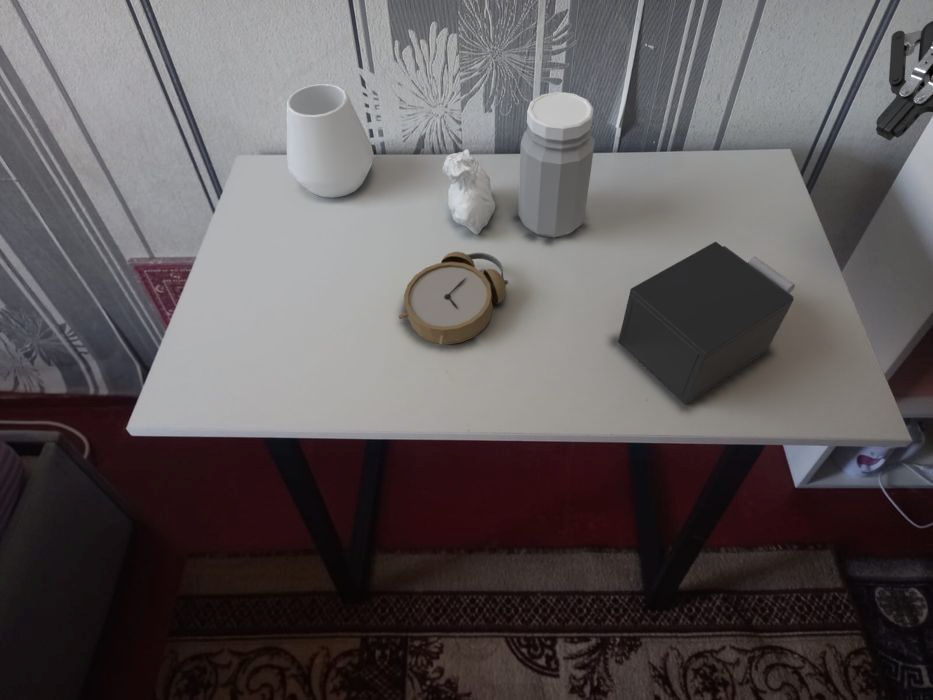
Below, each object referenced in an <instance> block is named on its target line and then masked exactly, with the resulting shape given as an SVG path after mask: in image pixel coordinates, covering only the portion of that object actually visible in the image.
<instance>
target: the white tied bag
mask: <svg viewBox="0 0 933 700" xmlns="http://www.w3.org/2000/svg"><path fill="white" fill-rule="evenodd" d="M442 172H443V173H444V174H445V175H446V176H447V177H448V178H449V179H450V181H451V182H452V183H451V184H450V185H449V186H448V190H447V194H448V195H447V196H448V199H447V205H448V208H449V210H450V213H451V218H452V219H453V221H454V222H455V223H457V224H458V225H461V226H463V227H466V228H468V230H469V231H470V232H472V233H473V234H474V235H479V234H480V233H481V231H482V230H483V228H485V227H486V226H488V224H489V221H490V219H491V218H492V216H493V214H494V213H495V209H496V204H495V200H494V197H493V195H492V187H491V179H490V175H488V173H487V171H486V170H485V168H484V167H483V166H482V165H480V163H479V160H478V159H476V158H475V157H474V156H471V152H470V150H469V149H467V148H466V149H464V150H463V151H458V152H454V153H451V154H448V155H447V156H446V158H445V160H444V162H443V166H442Z"/></svg>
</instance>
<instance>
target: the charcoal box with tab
mask: <svg viewBox="0 0 933 700" xmlns="http://www.w3.org/2000/svg"><path fill="white" fill-rule="evenodd" d="M793 302H794V298H792V297H790V296H789V295H788V294H786V293H785V292H784V291H782V290H781V289H779V288H778V287H777V286H775V285H774V284H773V283H771V282H770V281H769V280H767V279H766V278H765V277H763V276H762V275H760V274H759V273H758V272H756V271H755V270H754V269H752V268H751V267H750V266H748V265H747V264H746V263H744V262H743V261H741V260H740V259H739V258H737V257H736V256H735V255H733V254H732V253H731V252H729V251H728V250H727V249H725V248H724V247H723V245H721V244H720V243H719V242H717V241H714V242H712V243H710V244H709V245H707V246H704V247H703V248H701V249H699V250H697V251H696V252H694V253H693V254H692V253H691V255H689V256H687V257H685V258H683V259H681V260H679V261H678V262H676V263H674V264H673V265H671V266H669V267H667V268H665V269H663V270H662V271H660V272H657V273H656V274H654V275H653V276H651V277H649V278H647V279H645V280H644V281H642V282H640V283H638V284H636V285H634V286H633V287H631V288H630V290H629V295H628V299H627V303H626V308H625V312H624V316H623V321H622V325H621V328H620V332H619V337H618V343H619V344H620V345H621V346H622V347H624V348H625V349H626V350H627V351H628V352H629V354H631V355H632V356H633V357H634V358H635V359H636V360H637V361H638V362H639V363H641V365H643V366H644V368H646V369H647V370H648V371H649V372H650V373H651V374H652V375H653V376H654V377H655V378H656V379H657V380H659V381H660V382H661V383H662V384H663V385H664V386H665V387H666V388H667V389H668V390H669V391H670V393H672V394H673V395H674V396H675V397H676V398H677V399H679V400H680V401H681V402H682V403H683V404H684V405H685V406H686V405H688V404H690V403H691V402H692V401H694V400H695V399H697V398H699V397H700V396H702V395H703V394H705V393H706V392H708V391H710V390H711V389H713V388H714V387H715V386H717V385H718V384H720V383H721V382H723V381H724V380H726V379H728V378H729V377H731V376H732V375H733V374H736V372H738V371H740V370H741V369H743V368H744V367H746V366H748V365H749V364H750V363H752V362H754V361H755V360H756V359H758V358H760V357H761V356H763V355H764V354H766V353H767V351H768V349H769V348H770V346H771V344H772V342H773V340H774V338H775V336H776V334H777V332H778V330H780V329H779V328H780V327H781V325H782V323H783V321H784V319H785V317H786V315H787V313H788V311H789V310H790V308H791V306H792V304H793Z"/></svg>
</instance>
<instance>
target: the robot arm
mask: <svg viewBox="0 0 933 700" xmlns="http://www.w3.org/2000/svg"><path fill="white" fill-rule="evenodd" d="M924 25H925V26H923V27H922V29H921V30H918V31H913V32H907V33H905V31H903V30H897V31H895V32H894V33H892V35H891V40H890V55H889V56H890V57H889V70H888V73H889V74H888V83H889V85H890V91H891V93H892V94H894V95H895V98H894V99H893V100H892V101H891V103H889V105H887V107H886V108H885V109H884V110H883V112H882V113H881V114H880V115H878V117H877V119H876V122H875V124H876V128H875V131H876V133H877V135H878V136H879V137H882V138H884V139H886V140H888V141H892V140H893V139H894V138H897V139H898V138H900V137H902V136H903V135H905V133H906V132H907V131H908V129H910V127H911V126H912V125H913V124H914V123H915V122H916V121H917V120H918V119H919V117H921V116H922V115H923V114H925V113H933V20H931V21H930V22H928V23H927V24H924ZM918 45H919V48H918V59H917V62H918V63H917V64H916V66H915V67H914V68H913V70H912V72H911V74H910V76H909V78H907V80H906V65H907V57H908V56H911V55H912V54H913V53H914V52H915V49H916V47H918Z"/></svg>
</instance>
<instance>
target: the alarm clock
mask: <svg viewBox="0 0 933 700" xmlns="http://www.w3.org/2000/svg"><path fill="white" fill-rule="evenodd" d="M478 259H479V260H484V261H485V260H486V261H489V262H491V263H493V264H494V265H495V266H496V267H497V268H498V269H499V271H500V272H499V271H497V270H495V269H493V268H486V269H483V271H480V270H479V269H478V268H477V267H476V265H475V263H474V260H478ZM508 284H509V280H508V279H505V278H504V268H503V265H502V263H501V262H500V261H499V259H498V258H496V257H495V256H493V255H492V254H488V253H484V252H472V253H464V252H461V251H453V252H449V253H446V255H445V256H444V257H442V260H441V262H439V263H435V264H433V265H430V266H428V267H427V266H426V267H425V268H424V269H422V270H421V271H419V272H418V273H417V274H415V275H414V276H413V277H412V278H411V280H410V281H409V282H408V284H407V285H406V288H405V291H404V294H403V300H404V301H403V302H404V308H405V310H406V312H403V313H401V314H399V315H398V320H399V319H400V320H401V319H405V318H407V320H408V322H409V324H410V326H411V328H412V330H413V331H414V332H415V333H416V334H417V335H418V336H419V337H420V338H422V339H424V340H426V341H429V342H431V343H432V344H433V343H434V344H439V345H440V346H443V345H452V344H461V343H463V342H465V341H468V340H470V339H473V338H475V337H476V336H477V335H479V334H480V333H481V332H483V331H484V329H485V328H486V327H487V325H488V324H489V322H490V321H491V318H492V314H493V310H494V307H493V303H494V304H495V305H498V304H500V303H501V302H503V300H504V299H505V297H506V295H507V285H508ZM492 301H493V302H492Z"/></svg>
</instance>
